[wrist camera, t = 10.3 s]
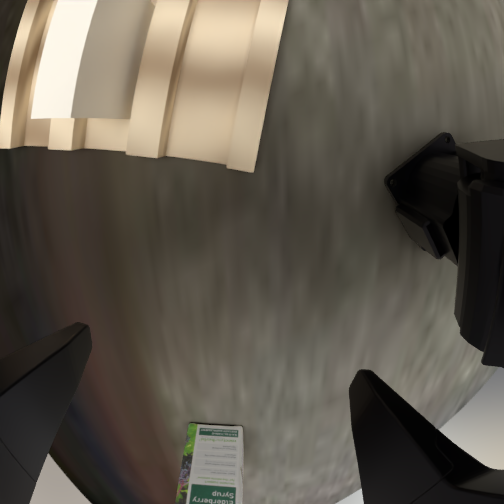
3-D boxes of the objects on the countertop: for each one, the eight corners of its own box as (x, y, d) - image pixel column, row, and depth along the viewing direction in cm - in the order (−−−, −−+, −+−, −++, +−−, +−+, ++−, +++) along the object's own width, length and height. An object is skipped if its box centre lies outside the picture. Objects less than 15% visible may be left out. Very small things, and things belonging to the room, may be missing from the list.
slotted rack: (43, 5, 13) (28, -1, 11) (288, -3, 14) (292, -17, 12) (16, 144, 17) (-2, 148, 15) (253, 168, 18) (253, 172, 16)
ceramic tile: (155, 7, 14) (113, -40, 7) (130, 119, 17) (70, 117, 10) (121, 8, 14) (70, -30, 7) (97, 117, 17) (30, 118, 10)
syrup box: (243, 424, 28) (239, 551, 14) (244, 450, 30) (241, 559, 17) (188, 421, 28) (167, 544, 14) (195, 448, 30) (180, 554, 17)
